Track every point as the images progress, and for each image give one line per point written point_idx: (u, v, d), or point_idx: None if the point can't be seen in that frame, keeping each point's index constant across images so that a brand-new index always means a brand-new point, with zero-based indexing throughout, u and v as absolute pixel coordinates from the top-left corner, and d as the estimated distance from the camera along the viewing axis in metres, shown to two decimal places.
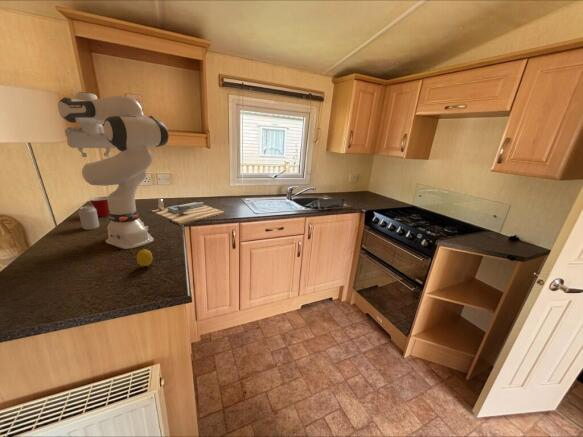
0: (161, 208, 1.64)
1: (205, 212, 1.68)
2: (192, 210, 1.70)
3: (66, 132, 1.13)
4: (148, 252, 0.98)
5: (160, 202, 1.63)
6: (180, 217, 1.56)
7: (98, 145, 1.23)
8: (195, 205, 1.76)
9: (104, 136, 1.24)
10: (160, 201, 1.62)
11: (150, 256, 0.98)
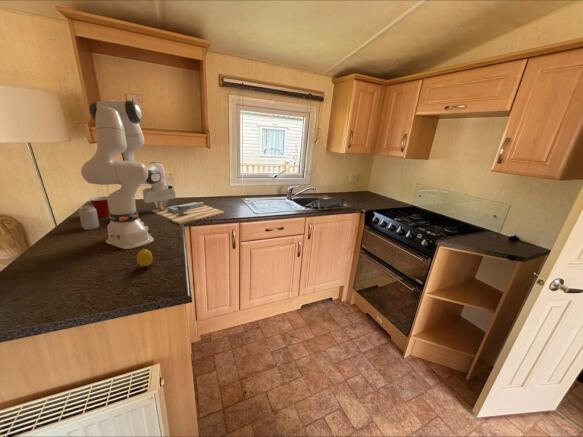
0: (161, 208, 1.64)
1: (205, 212, 1.68)
2: (192, 210, 1.70)
3: (143, 192, 1.53)
4: (148, 252, 0.98)
5: (160, 202, 1.63)
6: (180, 217, 1.56)
7: (163, 198, 1.63)
8: (195, 205, 1.76)
9: (167, 191, 1.64)
10: (160, 201, 1.62)
11: (150, 256, 0.98)
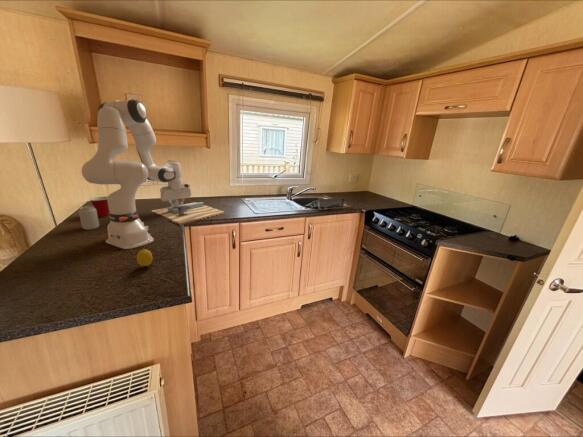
0: None
1: (205, 212, 1.68)
2: (192, 210, 1.70)
3: (161, 190, 1.54)
4: (148, 252, 0.98)
5: (176, 203, 1.64)
6: (180, 217, 1.56)
7: (179, 196, 1.64)
8: (195, 205, 1.76)
9: (183, 189, 1.65)
10: (176, 202, 1.63)
11: (150, 256, 0.98)
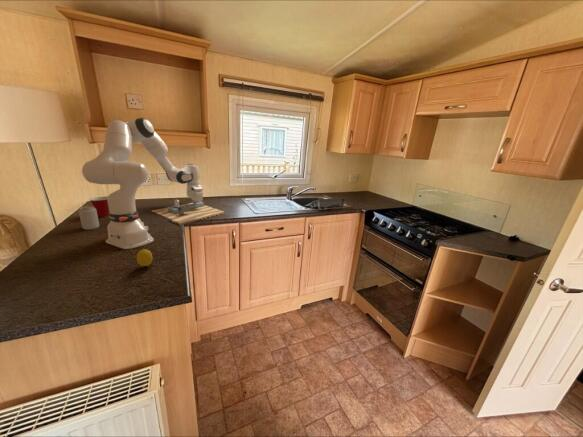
0: None
1: (205, 212, 1.68)
2: (192, 210, 1.70)
3: None
4: (148, 252, 0.98)
5: (176, 203, 1.64)
6: (180, 217, 1.56)
7: (192, 197, 1.76)
8: (195, 205, 1.76)
9: (193, 192, 1.72)
10: (176, 202, 1.64)
11: (150, 256, 0.98)
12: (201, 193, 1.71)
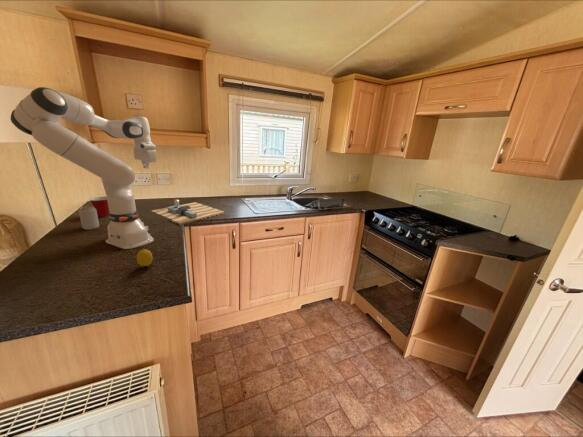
0: None
1: (205, 212, 1.68)
2: (192, 210, 1.70)
3: None
4: (148, 252, 0.98)
5: (176, 203, 1.64)
6: (180, 217, 1.56)
7: (142, 158, 1.45)
8: (186, 213, 1.58)
9: (143, 151, 1.41)
10: (176, 202, 1.64)
11: (150, 256, 0.98)
12: (154, 152, 1.41)
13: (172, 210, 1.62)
